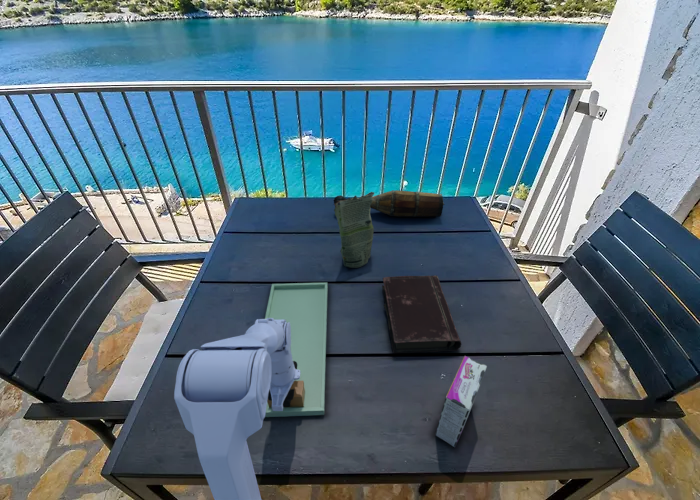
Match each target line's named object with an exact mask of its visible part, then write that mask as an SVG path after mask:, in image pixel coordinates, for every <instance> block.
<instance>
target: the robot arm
mask: <svg viewBox="0 0 700 500" xmlns="http://www.w3.org/2000/svg"><path fill="white" fill-rule="evenodd" d="M199 348H200V349H199ZM199 348H197V349H196V348H193V349H190V350H189V351H188V352H186V354H185V355H184V356H183V358H182V359H181V361H180V363H179V365H178V368H177V371H176V377H175V385H174V393H173V399H174V402H175V405H176V406H177V410H178V412H179V415H180V417H181V420H182V423H183V425H184V427H185V430H187V431H188V432H189V433H190V434H192V435H193V436H194V443H195V446H196V452H197V456H198V460H199V463H200V465H201V468H202V471H203V473H204V476H205V479H206V482H207V485H208V487H209V489H210V492H211V494H212V497H213V499H214V500H263V499H262V497H261V492H260V489H259V485H258V484H259V483H258V481H257V477H256V472H255V468H254V465H253V461H252V457H251V453H250V449H249V446H248V442H247V439H248V438H249V437H250V436H252V435H253V434H255V433H256V432H258V431H259V430H261V429H262V428H263V424H264V419H265V418H266V417H265V414H266V407H267V400H270V401H272V409H273V411H283V407H290V403H291V400H293V397H294V390H295V389H290V388H291V386H292V384H293V382H294V380H298V379H300V374H301V373H300V370H297V362H296V361H293V359H292V354H291V326H290V322H286V320H285V319H282V320H274V318H266V319H265V318H257V319H256V320H255V321H254V324H253V325H251V326H249V328H247V330H245V333H244V334H241V335H237V336H232V337H227V338H222V339H219V340H215V341H214V340H213V341H210V342H206V343H203V344H201V346H200V347H199Z"/></svg>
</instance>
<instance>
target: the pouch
mask: <svg viewBox="0 0 700 500" xmlns="http://www.w3.org/2000/svg"><path fill="white" fill-rule="evenodd" d="M373 196H375V191H374V192H373V191H370V192H368V193H367V194H365V195H361V196H360V197H358V196H357V195H354V196H353V197H351V198H352V199H351V200H342V201H339V202H338V203H336V204H334V203H333V204H334V209H333V211H334V216H335V217H336V220H337V225H338V228H339V230H338V232H339V236H340V243H341V244H340V245H341V248H340V251H339V252H340V254H341V258H342V261H343V266H344V267H347V268H353V269H354V268H361V267H363V266H365V265H367V264H368V261H369V259H370V258H371V255H372V254H371V253H372V247H373V241H374V232H375V229H374V225H373V221H372V217H371V208H370V205H371V203H372V199H373ZM357 198H359V199H357Z"/></svg>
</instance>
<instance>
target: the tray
mask: <svg viewBox="0 0 700 500" xmlns="http://www.w3.org/2000/svg"><path fill="white" fill-rule="evenodd" d="M328 286H329V285H328V282H297V283H296V282H295V283H293V282H291V283H272V284H271V287H270V291H269V297H268V301H267V306H266V310H265V315H264V319H266V318H274V320H282V319H285V320H286V322H290V326H291V354H292V359H293V361H296V362H297V370H300V373H301V374H300V379H298V380H294V381H304V387H305V397H304V407H283V411H273V409H272V407H271V408H269V406H268V402H267V407H266V414H265V418H274V417H275V418H277V417H278V418H280V417H281V418H282V417H304V416H305V417H307V416H308V417H309V416H325V408H326V407H325V406H326V399H325V398H326V369H327V367H326V366H327V333H328V332H327V329H328V328H327V327H328V326H327V325H328V324H327V323H328V289H329V288H328Z"/></svg>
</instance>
